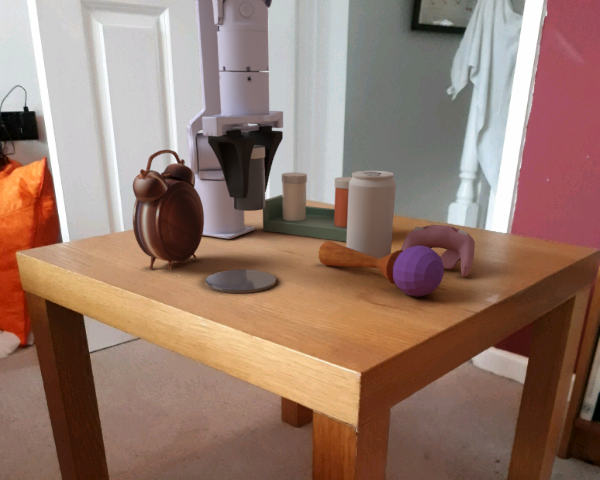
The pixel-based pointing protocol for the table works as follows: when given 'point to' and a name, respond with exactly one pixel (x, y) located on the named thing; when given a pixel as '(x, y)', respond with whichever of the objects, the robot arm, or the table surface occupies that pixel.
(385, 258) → the kendama
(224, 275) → the coaster
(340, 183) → the paprika shaker
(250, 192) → the pepper shaker
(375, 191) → the beverage can
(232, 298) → the table surface
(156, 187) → the alarm clock
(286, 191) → the salt shaker
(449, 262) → the video game controller
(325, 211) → the spice rack
